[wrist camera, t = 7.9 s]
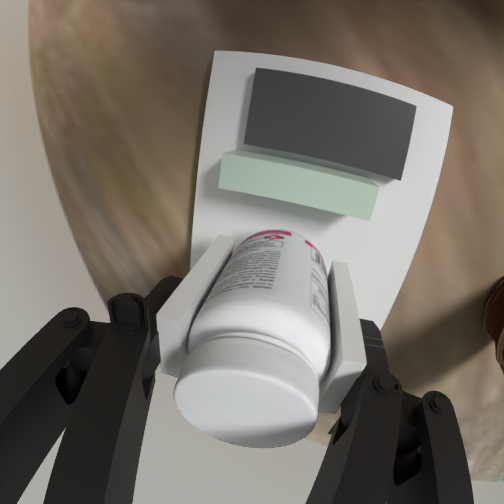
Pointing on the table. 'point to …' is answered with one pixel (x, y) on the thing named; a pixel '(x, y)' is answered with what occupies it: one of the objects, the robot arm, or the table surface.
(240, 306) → the pill bottle
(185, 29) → the table surface
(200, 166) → the dock
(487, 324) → the coffee cup
